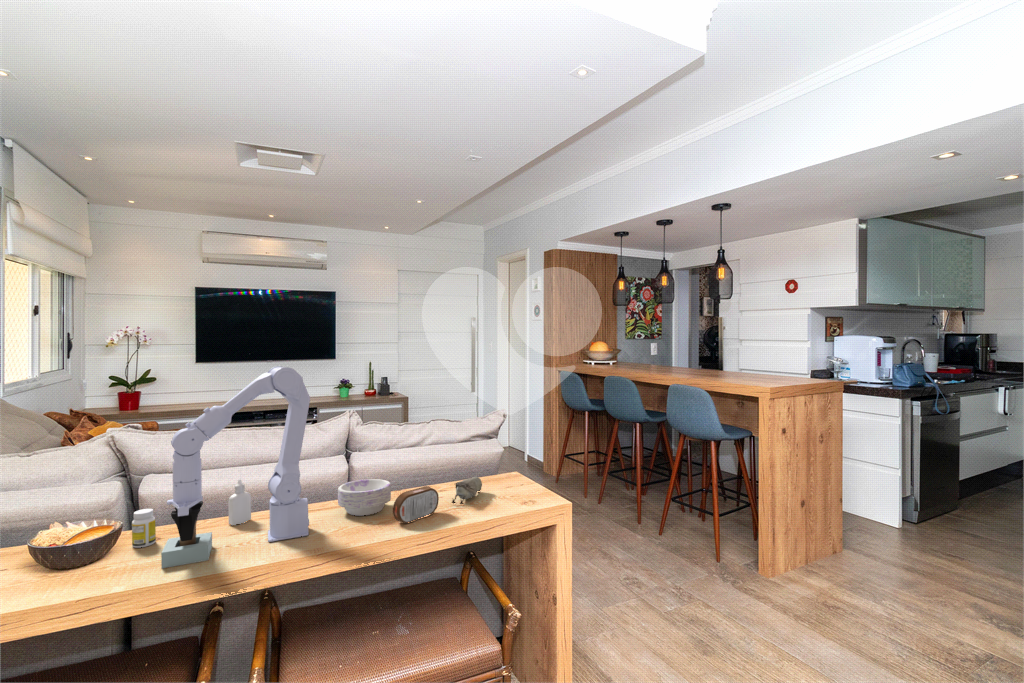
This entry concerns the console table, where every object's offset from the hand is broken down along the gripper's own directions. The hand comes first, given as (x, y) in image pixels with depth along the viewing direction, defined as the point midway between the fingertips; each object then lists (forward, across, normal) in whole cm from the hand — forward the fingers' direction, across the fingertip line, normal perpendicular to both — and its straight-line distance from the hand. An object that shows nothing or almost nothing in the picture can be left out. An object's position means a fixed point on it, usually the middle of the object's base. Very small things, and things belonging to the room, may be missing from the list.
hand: (187, 537), depth 117 cm
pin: (+3, 0, 0) cm, 3 cm away
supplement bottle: (+5, -14, -11) cm, 18 cm away
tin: (+5, +1, +55) cm, 55 cm away
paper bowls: (+5, -13, +43) cm, 45 cm away
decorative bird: (+5, -9, +74) cm, 75 cm away
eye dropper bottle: (+5, -20, +10) cm, 23 cm away
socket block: (+5, 0, 0) cm, 5 cm away
